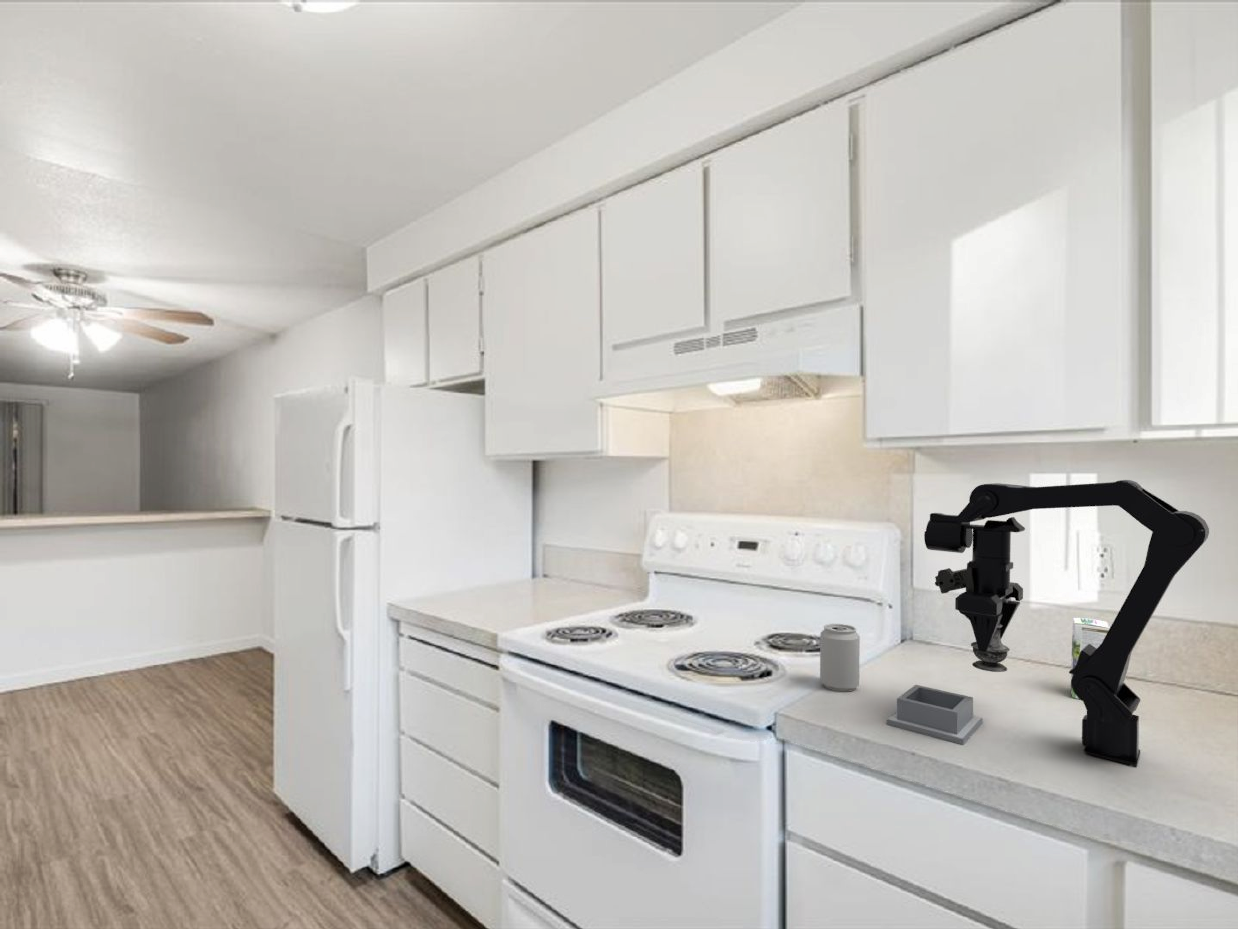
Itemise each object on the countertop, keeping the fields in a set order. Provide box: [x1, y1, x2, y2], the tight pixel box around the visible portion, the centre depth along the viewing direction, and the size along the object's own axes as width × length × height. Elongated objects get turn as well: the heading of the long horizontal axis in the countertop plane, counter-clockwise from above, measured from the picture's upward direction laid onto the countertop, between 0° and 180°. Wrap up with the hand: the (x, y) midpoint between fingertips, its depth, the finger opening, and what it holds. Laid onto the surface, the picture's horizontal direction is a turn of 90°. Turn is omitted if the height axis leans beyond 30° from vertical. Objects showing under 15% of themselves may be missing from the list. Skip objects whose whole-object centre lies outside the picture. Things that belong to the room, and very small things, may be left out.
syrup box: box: [1070, 617, 1111, 700], centre depth 127 cm, size 6×6×14 cm
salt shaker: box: [970, 622, 1010, 673], centre depth 115 cm, size 6×6×12 cm
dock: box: [886, 684, 984, 745], centre depth 114 cm, size 12×12×4 cm
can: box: [819, 623, 861, 692], centre depth 133 cm, size 8×8×12 cm
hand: (989, 646), depth 115 cm, fingers closed on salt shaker, 8 cm apart
